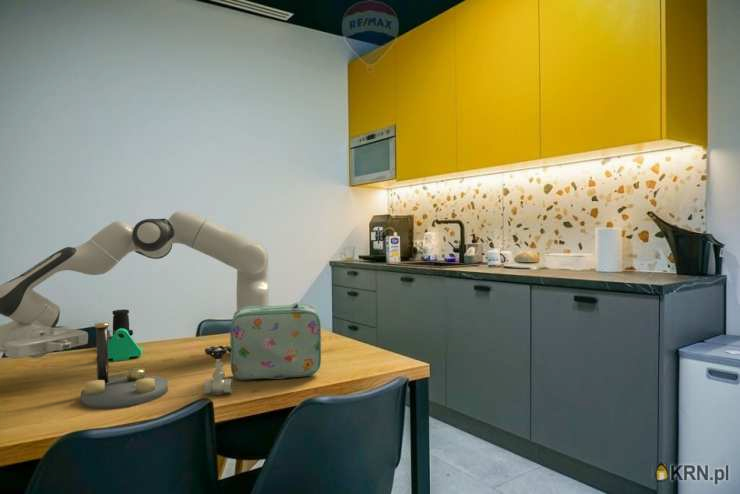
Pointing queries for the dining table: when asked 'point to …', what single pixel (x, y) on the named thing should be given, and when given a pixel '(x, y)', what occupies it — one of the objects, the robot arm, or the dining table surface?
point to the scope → (120, 322)
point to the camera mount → (122, 346)
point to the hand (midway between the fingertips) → (66, 346)
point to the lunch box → (275, 342)
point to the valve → (218, 373)
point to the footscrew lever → (103, 358)
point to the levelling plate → (122, 392)
